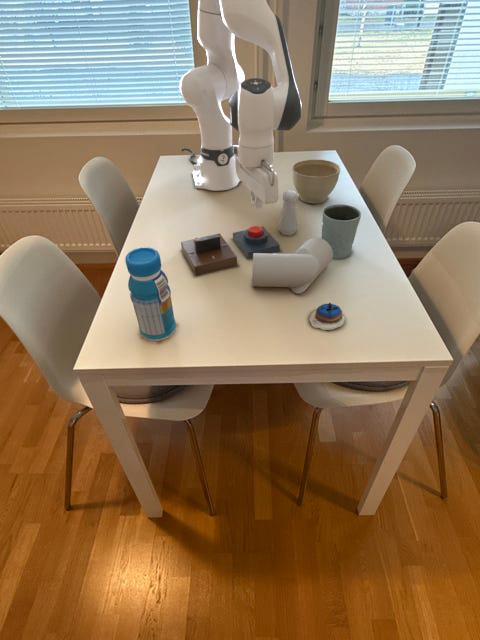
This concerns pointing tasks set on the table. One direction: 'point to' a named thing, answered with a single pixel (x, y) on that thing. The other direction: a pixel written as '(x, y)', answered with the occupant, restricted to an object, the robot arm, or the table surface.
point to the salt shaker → (288, 213)
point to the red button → (255, 231)
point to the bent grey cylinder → (292, 266)
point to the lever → (207, 243)
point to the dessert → (327, 317)
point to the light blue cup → (340, 228)
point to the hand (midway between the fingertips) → (256, 205)
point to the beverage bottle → (150, 294)
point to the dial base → (209, 257)
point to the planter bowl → (315, 179)
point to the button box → (255, 243)
